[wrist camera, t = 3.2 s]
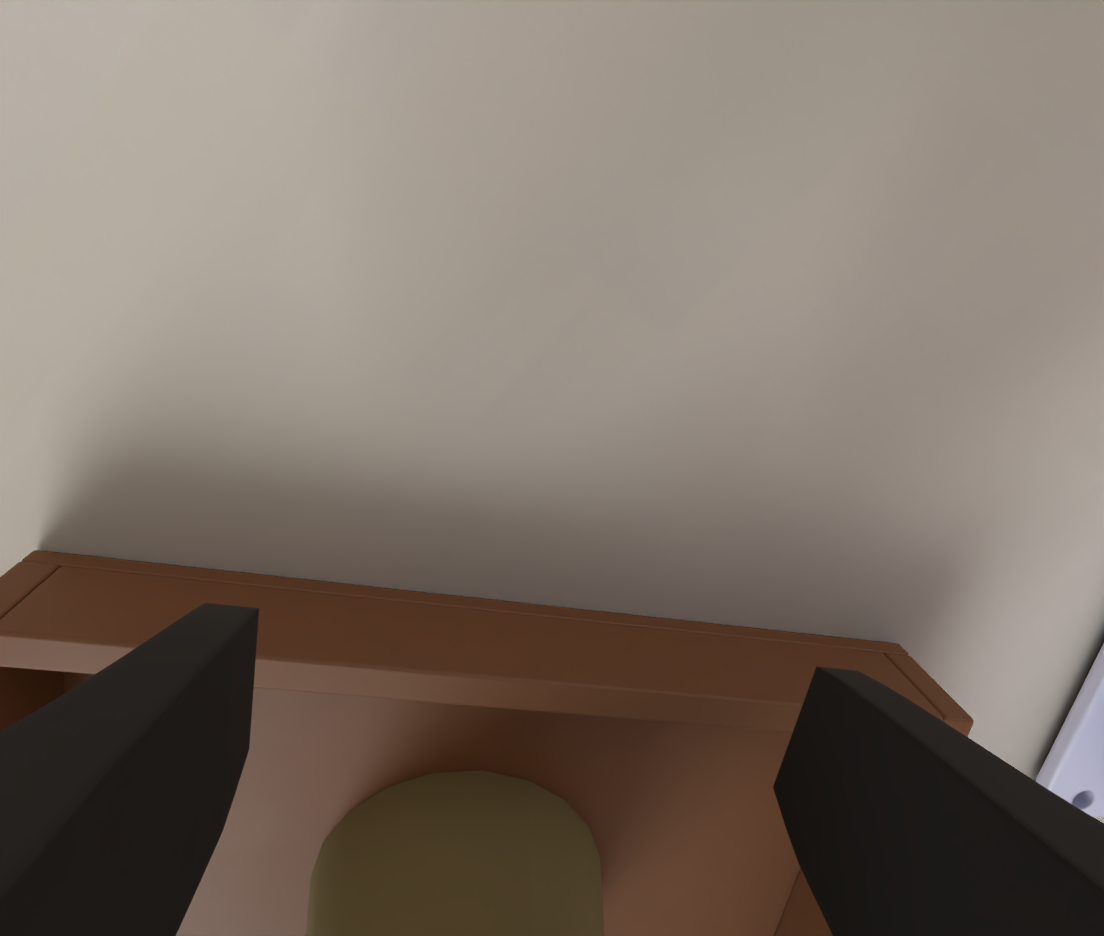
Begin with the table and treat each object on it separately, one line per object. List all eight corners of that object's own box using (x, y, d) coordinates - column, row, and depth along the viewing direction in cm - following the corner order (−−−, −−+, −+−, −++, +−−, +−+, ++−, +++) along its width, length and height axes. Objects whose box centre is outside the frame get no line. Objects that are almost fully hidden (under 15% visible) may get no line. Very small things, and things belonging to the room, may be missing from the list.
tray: (898, 642, 15) (976, 720, 12) (730, 1071, 19) (765, 1188, 17) (34, 549, 12) (-66, 626, 10) (58, 1073, 16) (-8, 1213, 14)
